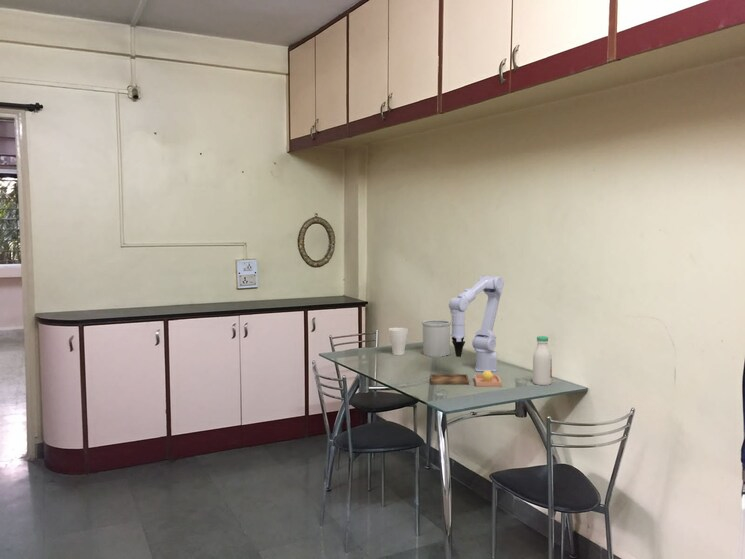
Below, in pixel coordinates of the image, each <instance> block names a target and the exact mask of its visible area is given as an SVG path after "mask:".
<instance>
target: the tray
mask: <svg viewBox="0 0 745 559" xmlns="http://www.w3.org/2000/svg"><path fill="white" fill-rule="evenodd" d="M430 385H437V386H438V385H445V386H446V385H451V386H452V385H456V386H457V385H463V386H464V385H469V386H470V380H469V377H468V374H466V373H465V374H462V373H461V374H460V373H459V374H458V373H457V374H456V373H455V374H454V373H453V374H452V373H450V374H449V373H448V374H445V373H444V374H443V373H442V374H441V373H437V374H436V373H434V374H433V373H431V374H430Z"/></svg>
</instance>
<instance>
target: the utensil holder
mask: <svg viewBox="0 0 745 559" xmlns="http://www.w3.org/2000/svg"><path fill="white" fill-rule="evenodd" d="M421 325H422V344H423V345H422V347H423V355H424V356H427V357H430V356H431V357H433V358H434V357H435V358H442V356H443V357H447V356H446V355H448V356H450V354H451V336H449V334H451V325H452V320H451V321H450V320H448V319H440V318H438V319H437V318H435V319H431V318H430V319H424V320H422V321H421ZM431 357H430V358H431Z"/></svg>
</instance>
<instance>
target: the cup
mask: <svg viewBox="0 0 745 559" xmlns="http://www.w3.org/2000/svg"><path fill="white" fill-rule="evenodd" d="M387 330H388V338H389V342H390V345H391V349H392V350H391V351H392V355H393V354H394V355H393V356H404V355H405V350H406V349H405V348H406V344H407V341H408V340H407V339H408V335H409V334H408V333H409V328H407V327H389V328H388V329H387ZM403 354H404V355H403Z"/></svg>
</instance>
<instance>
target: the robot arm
mask: <svg viewBox="0 0 745 559" xmlns="http://www.w3.org/2000/svg"><path fill="white" fill-rule="evenodd" d="M503 288H504V280H503V277H501V276H499V275H498V276H495V275H494V276H493V275H481V276H480V277H479V278H478V281H477V282H476V283H475V284H474V285H473V286H472V287H471V288H465V289H463V292H461V293H459V294H458V295H457V296H456V297H452V298H451V299H450V300H449V302H448V308H449V310H450V311H449V312H450V314H451V333H450V334H449V336H450V337H451V343H452V345H453V347H454V353H455V356H456V357H457V358H461V357H462V354H463V348H464V346H465V344H466V341H464V339H465V337H466V334H465V333H466V331H465V330H466V329H465V326H466V325H465V320H466V318H465V316H466V315H465V314H466V312H465V311H467V309H468V306H469V305H470V304H471V302H473V301H474V300H475V299H476V296H477V295H478V294H479V293H480V292H482V291H483V292H484V294H485V295H486V296H487V302H486V306H485V311H484V315H483V318H482V323H481V328H480V329H479V330H477V331H476V332H475V333H474V334H475V335H474V337H473V338H472V342H471V345H472V347H473V348H474V352H475V364H476V365H475V366H474V370H475V371H476V372H484V371H486V370H488V371H491V372H492V373H493V372H497V371H498V370H497V369H498V368H497V366H498V360H497V359H498V358H497V357H498V356H497V351H496V350H495V348H496V346H497V342H496V341H497V336H496V334H495V333H494V332H493V330H494V325H495V321H496V317H497V313H498V307H499V304H500V299H501V296H502V293H503Z"/></svg>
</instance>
